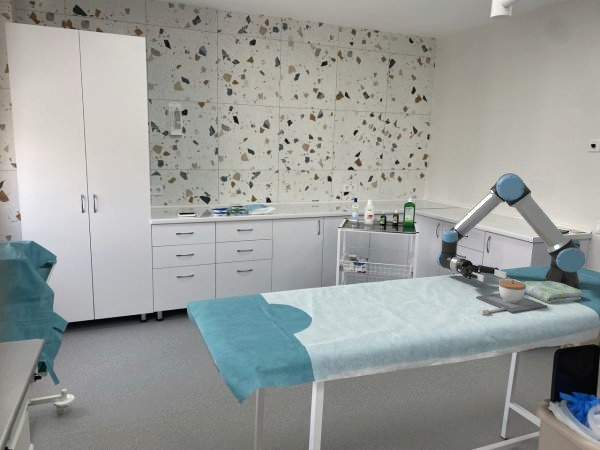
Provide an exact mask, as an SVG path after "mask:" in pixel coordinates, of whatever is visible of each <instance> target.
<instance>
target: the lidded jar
mask: <svg viewBox="0 0 600 450" xmlns="http://www.w3.org/2000/svg"><path fill="white" fill-rule="evenodd" d="M521 282H522V281H519V280H518V281H517V280H515V279H510V280H509V279H504V280H503V279H502V280H500V281H499V282H498V293H499V294H500V296H501V297H502V298H503V300H504V301H506V302H509V303H518V301H520V300H521V299H522V298H523V297H525V294H526V293H525V288H526V285H525V284H524V283H521Z"/></svg>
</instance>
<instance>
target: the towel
mask: <svg viewBox="0 0 600 450" xmlns="http://www.w3.org/2000/svg"><path fill="white" fill-rule="evenodd" d="M520 282H521V283H524V284H525V285H526V288H525V294H526V295H528V296H531V297H533V298H535V299H537V300H540V301H542V302H544V303H546V304H554V303H556V304H557V303H565V302H573V301H580V300H582V297H581V296H582V295H584V293H583V291H582V290H580V289H578V288H573V287H570V286H568V285H565V284H562V283H558V282H553V281H545V280H543V281H541V280H540V281H537V280H533V281H531V280H529V281H528V280H527V281H520Z"/></svg>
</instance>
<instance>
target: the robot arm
mask: <svg viewBox="0 0 600 450" xmlns="http://www.w3.org/2000/svg"><path fill="white" fill-rule="evenodd" d="M501 203H506V204H507V205H508V206H509V207H511V208H515V210H516V211H517V212H518V213H519V215H520V216H521V217H522V218H523V220H525V222H526V223H527V224H528V225H529V227H530V228H531V229H532V230H533V232H534V233H535V234H536V235H537V236H538V238H540V240H541V241H542V242H543V244H545V246H546V247H547V250H546V251H547V254H549V256H550V266H549V268H548V270H547V272H546V275H545V277H544V281H553V282H558V283H562V284H565V285H568V286H570V287H573V288H576V289H578V288H579V287H580V277H579V274H578V271H580V270H581V269H582V268H584V266H585V264H586V256H585V253H584V252H583V251H582V250H581V249H580V248H581V241H580V239H574V238H571V237H569V236H565V235H564V234H563V233H562V231H560V229H559V228H558V227H557V226H556V225H555V223H554V222H553V220H552V219H550V218H549V216H548V215H547V213H546V212H544V210H543V209H542V208H541V207H540V206H539V204H538V203H537V202H536V201H535V199H533V197H532V190H531V189H530V188H529V187H528V186H527V184H526V183H525V182H524V181H523V179H522V178H521V177H520V176H519V175H517V174H515V173H505V174H502V175H501V176H500V177H499V178H498V179H497V181H496V182H495V184H494V185H493V186H491V188H490V189H489V192H487V194H486V195H485V196H484V197H483V198H482V199H481V200H480V201H479V202H478V203H477V204H476V205H475V206H473V207H472V208H471V209H470V210H469V211H468V212H467V213H466V214H465V215H464V216H463V217H461V219H460V220H458V221H457V222H456V223H455V224H454V225H453V226H452V227H451V228H450V229H449V230H443V231H442V235H441V251H440V252H439V253H438V254H437V256H436V258H435V261H436V264H437V265H438V266H440V267H441V268H443V269H446V270H450V271H452V272H455V273H456V274H461V275H462V277H463V278H464V279H466V278H467V279H468V280H472V279H474V280H476V281H479V282H482V283H484V281H485V275H483V274H490V275H493V276H496V277H499V278H501V279H504V280H507V279H508V277H507V276H508V272H506V271H502V270H499V268H498V267H492V266H485V265H482V264H478V265H476V264H473V262H472V261H471V260H469V259H466V258H462V257H459V256H458V255H457V253H458V243H459V242H460V241H461V240H462V239H463V238H464V237H465V236H466V235H467V234H469V232H470V231H472V229H474V228H476V226H477V225H478V224H479V223H480V222H482V220H484V218H485V219H486V217H487V216H489V214H490V213H491V212H492V211H494V210H495V209H496V208H497V207H498V206H499V205H500V204H501Z"/></svg>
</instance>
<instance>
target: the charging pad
mask: <svg viewBox="0 0 600 450" xmlns="http://www.w3.org/2000/svg"><path fill="white" fill-rule="evenodd" d="M475 299H477V300H478V301H481V302H485V303H486V304H489V305H491V306H493V307H496V308H492V309H488V308H486V307H480V308H478V311H477V314H479V315H481V316H484V315H485V316H487V315H489V314H490V313H497V312H501V311H502V312H503V311H505V312H508V313H510V314H515V313H522V312H528V311H534V310H540V309H546V308H548V305H546V304H543V303H542V302H539V301H535V300H533V299H530V298H528V297H525V296H523V298H522V299H521V300H520V301H518V303H509V302H506V301H504V300H503V298H502V297H501V296H500V294H499V292H498V293H493V294H492V293H491V294H485V295H479V296H478V295H477V296H476V297H475Z"/></svg>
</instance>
